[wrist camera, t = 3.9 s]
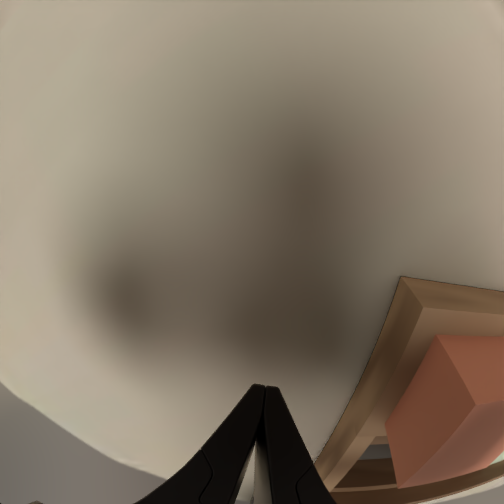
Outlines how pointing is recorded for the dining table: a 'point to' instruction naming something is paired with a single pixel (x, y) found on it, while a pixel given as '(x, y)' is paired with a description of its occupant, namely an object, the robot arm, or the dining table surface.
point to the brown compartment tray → (394, 386)
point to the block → (450, 411)
